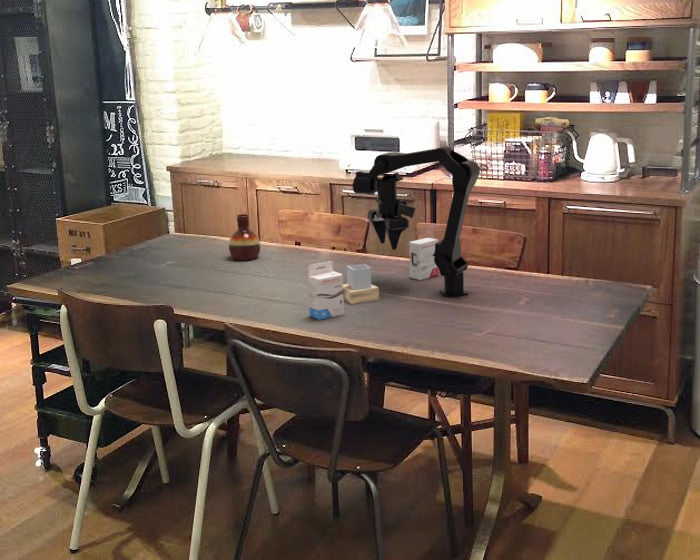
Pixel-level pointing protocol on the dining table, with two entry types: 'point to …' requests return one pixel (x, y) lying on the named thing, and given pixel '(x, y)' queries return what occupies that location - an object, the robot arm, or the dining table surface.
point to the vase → (244, 241)
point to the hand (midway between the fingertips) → (388, 246)
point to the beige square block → (360, 294)
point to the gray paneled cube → (359, 276)
